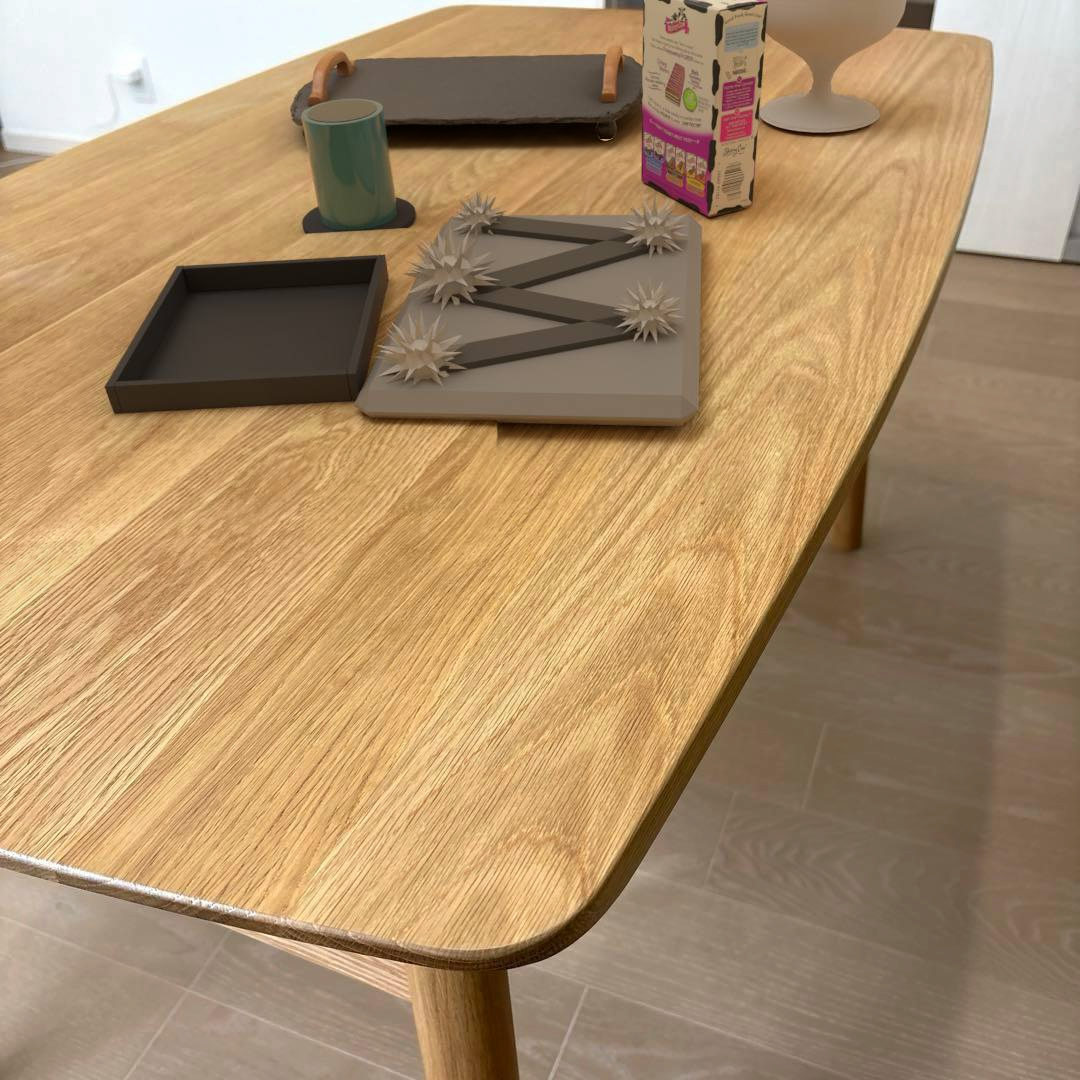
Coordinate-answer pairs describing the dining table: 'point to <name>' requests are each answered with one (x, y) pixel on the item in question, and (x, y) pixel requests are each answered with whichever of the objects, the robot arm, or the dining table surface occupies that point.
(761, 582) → the dining table surface
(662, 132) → the candy bar box
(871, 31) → the chalice
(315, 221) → the coaster
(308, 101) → the serving tray
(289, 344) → the tray
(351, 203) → the cup
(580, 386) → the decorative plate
